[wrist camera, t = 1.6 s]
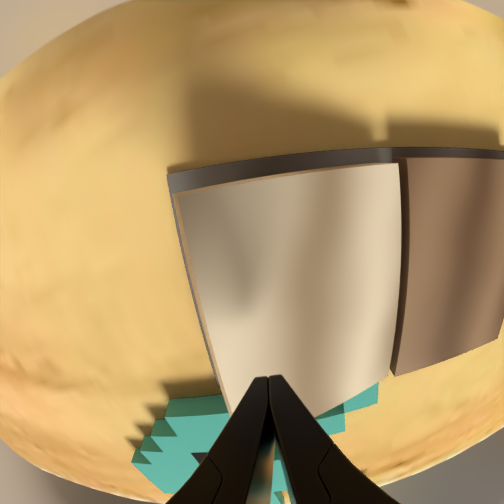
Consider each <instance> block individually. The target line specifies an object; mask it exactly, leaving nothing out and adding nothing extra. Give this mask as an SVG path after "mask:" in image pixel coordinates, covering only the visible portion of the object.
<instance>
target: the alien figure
mask: <svg viewBox="0 0 504 504" xmlns="http://www.w3.org/2000/svg"><path fill="white" fill-rule="evenodd" d="M378 384H379V382H377V383H376V384H374V385H373V386H371V387H369V388H368V389H366V390H364V391H363V392H361V393H359V394H357V395H356V396H354V397H352V398H351V399H349V400H347V401H345V402H343V403H342V404H340V405H338V406H336V407H334V408H332V409H330V410H328V411H326V412H324V413H322V414H320V415H318V416H316V417H314V418H315V419H316V420H317V421H318V423H319V424H320V425H321V427H322V428H323V429H324V430H325V432H326V433H327V434H328V435H332V434H336V433H340V432H344V431H345V417H344V413H346V412H350V411H353V410H357V409H360V408H363V407H367V406H370V405H373V404H376V403H377V402H378ZM164 418H165V419H159V420H156V421H155V424H154V427H153V430H152V433H151V436H145V437H144V440H143V442H142V445H141V448H140V449H138V448H136V450H135V452H134V455H133V458H132V461H131V463H132V464H133V465H134V466H135V467H136V468H137V469H138V470H139V471H140V472H141V473H142V474H143V475H145V476H146V477H147V478H148V479H149V480H150V481H151V482H152V483H153V484H155V485H156V486H157V487H158V488H159V489H160V490H161V491H163V492H164V493H169V494H175V493H176V492H177V491H178V490H179V489H180V488H181V487H182V486H183V485H184V484H185V482H186V481H187V480H188V479H189V478H190V477H191V475H192V474H193V473H194V471H195V470H196V469H197V467H198V466H199V465H200V463H201V462H202V460H203V459H204V457H205V456H207V453H208V451H209V450H210V448H211V447H212V445H213V444H214V442H215V441H216V439H217V437H218V436H219V434H220V433H221V431H222V430H223V428H224V427H225V425H226V423H227V422H228V420H229V419H230V415H229V412H228V409H227V406H226V403H225V400H224V397H223V394H222V395H213V396H204V397H193V398H181V399H170V400H169V404H168V407H167V410H166V413H165V417H164ZM285 490H287V486H286V482H285V478H284V474H283V469H282V465H281V461H280V457H279V453H278V449H277V444H276V443H275V449H274V463H273V477H272V490H271V502H270V504H284V497H283V495H282V494H281V492H280V491H285Z"/></svg>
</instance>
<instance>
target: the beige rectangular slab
mask: <svg viewBox="0 0 504 504" xmlns="http://www.w3.org/2000/svg"><path fill="white" fill-rule="evenodd" d="M173 200H174V205H175V210H176V215H177V220H178V225H179V230H180V234H181V239H182V244H183V248H184V253H185V257H186V262H187V266H188V270H189V274H190V279H191V283H192V287H193V291H194V295H195V299H196V303H197V307H198V311H199V315H200V318H201V322H202V326H203V329H204V333H205V337H206V340H207V344H208V347H209V351H210V354H211V358H212V361H213V365H214V368H215V371H216V375H217V378H218V381H219V384H220V388H221V391H222V394H223V397H224V400H225V403H226V406H227V409H228V412H229V415H230V417H231V415H232V414H233V412H234V411H235V409H236V407H237V406H238V404H239V402H240V401H241V399H242V397H243V396H244V394H245V392H246V391H247V389H248V387H249V386H250V384H251V382H252V381H253V379H254V378H255V377H260V376H267V377H269V376H270V375H277V374H281V375H283V377H284V378H285V379H286V381H287V382H288V383H289V385H290V386H291V387H292V389H293V390H294V391H295V393H296V394H297V395H298V397H299V398H300V399H301V401H302V402H303V403H304V405H305V406H306V407H307V409H308V410H309V411H310V412H311V414H312V415H313V416H314V417H316V416H318V415H320V414H322V413H324V412H326V411H328V410H330V409H332V408H334V407H336V406H338V405H340V404H342V403H343V402H345V401H347V400H349V399H351V398H352V397H354V396H356V395H357V394H359V393H361V392H363V391H364V390H366V389H368V388H369V387H371V386H373V385H374V384H376V383H377V382H379V381H381V380H382V379H384V378H385V377H387V376H388V373H389V368H390V362H391V356H392V350H393V343H394V335H395V328H396V319H397V309H398V298H399V285H400V267H401V197H400V179H399V166H398V163H367V164H356V165H346V166H337V167H328V168H320V169H312V170H304V171H297V172H290V173H283V174H277V175H270V176H264V177H258V178H252V179H246V180H240V181H235V182H229V183H224V184H218V185H213V186H208V187H203V188H198V189H193V190H189V191H184V192H179V193H175V194H173Z"/></svg>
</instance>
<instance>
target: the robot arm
mask: <svg viewBox="0 0 504 504" xmlns="http://www.w3.org/2000/svg"><path fill="white" fill-rule="evenodd" d="M275 439H276V444H277V449H278V453H279V457H280V461H281V465H282V469H283V474H284V478H285V482H286V486H287V490H288V494H289V498H290V502H291V504H401V503H399V502H397V501H396V500H395V499H393V498H392V497H391V496H389V495H388V494H387V493H386V492H384V491H383V490H382V489H381V488H379V487H378V486H377V485H376V484H375V483H373V482H372V481H371V480H370V479H369V478H367V477H366V476H365V475H364V474H363V473H362V472H361V471H360V470H359V469H358V468H356V467H355V466H354V465H353V464H352V463H351V462H350V460H349V459H348V458H347V457H346V456H345V455H344V454H343V453H342V451H341V450H340V449H339V448H338V447H337V445H336V444H334V442H333V441H332V439H331V438H330V437H329V435H328V434H327V433H326V432H325V430H324V429H323V428H322V427H321V425H320V424H319V423H318V421H317V420H316V419H315V418H314V416H313V415H312V414H311V412H310V411H309V410H308V409H307V407H306V406H305V405H304V403H303V402H302V401H301V399H300V398H299V397H298V395H297V394H296V393H295V391H294V390H293V389H292V387H291V386H290V385H289V383H288V382H287V381H286V379H285V378H284V377H283V375H281V374H277V375H270V376H269V377H267V376H260V377H255V378H254V379H253V381H252V382H251V384H250V386H249V387H248V389H247V391H246V392H245V394H244V396H243V397H242V399H241V401H240V402H239V404H238V406H237V407H236V409H235V411H234V412H233V414H232V415H231V417H230V419H229V420H228V422H227V423H226V425H225V427H224V428H223V430H222V431H221V433H220V434H219V436H218V437H217V439H216V441H215V442H214V444H213V445H212V447H211V448H210V450H209V451H208V453H207V456H205V457H204V459H203V460H202V462H201V463H200V465H199V466H198V467H197V469H196V470H195V471H194V473H193V474H192V475H191V477H190V478H189V479H188V480H187V481H186V482H185V484H184V485H183V486H182V487H181V488H180V489H179V490H178V491H177V492H176V493H175V494H174V495H173V496H172V497H171V498H170V499H169V500H168V501H167V502H166V503H165V504H270V502H271V490H272V477H273V463H274V449H275Z"/></svg>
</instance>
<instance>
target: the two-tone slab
mask: <svg viewBox="0 0 504 504" xmlns="http://www.w3.org/2000/svg"><path fill="white" fill-rule="evenodd" d="M367 163H398V166H399V179H400V197H401V267H400V285H399V298H398V309H397V319H396V328H395V335H394V343H393V350H392V356H391V362H390V370H391V371H392V373H393V375H394V377H396V376H399V375H402V374H406V373H409V372H412V371H416V370H419V369H422V368H425V367H428V366H431V365H434V364H437V363H439V362H442V361H445V360H448V359H450V358H453V357H455V356H458V355H461V354H463V353H466V352H468V351H470V350H473V349H475V348H477V347H480V346H482V345H484V344H487V343H489V342H491V341H493V340H495V339H497V338H498V335H499V332H500V329H501V325H502V322H503V318H504V151H496V150H484V149H468V148H444V147H388V148H362V149H345V150H331V151H319V152H308V153H298V154H289V155H281V156H272V157H265V158H257V159H250V160H244V161H237V162H231V163H225V164H219V165H213V166H207V167H202V168H197V169H191V170H186V171H181V172H176V173H172V174H167V181H168V186H169V192H170V197H171V202H172V207H173V212H174V217H175V222H176V227H177V232H178V237H179V241H180V246H181V250H182V255H183V259H184V263H185V268H186V272H187V276H188V280H189V284H190V288H191V292H192V296H193V300H194V304H195V308H196V312H197V315H198V319H199V323H200V327H201V330H202V334H203V337H204V341H205V344H206V348H207V351H208V355H209V358H210V361H211V365H212V368H213V371H214V375H215V378H216V381H217V384H218V387H219V388H220V384H219V381H218V378H217V375H216V371H215V368H214V365H213V361H212V358H211V354H210V351H209V347H208V344H207V340H206V337H205V333H204V329H203V326H202V322H201V318H200V315H199V311H198V307H197V303H196V299H195V295H194V291H193V287H192V283H191V279H190V274H189V270H188V266H187V262H186V257H185V253H184V248H183V244H182V239H181V234H180V230H179V225H178V220H177V215H176V210H175V205H174V200H173V194H175V193H179V192H184V191H189V190H193V189H198V188H203V187H208V186H213V185H218V184H224V183H229V182H235V181H240V180H246V179H252V178H258V177H264V176H270V175H277V174H283V173H290V172H297V171H304V170H312V169H320V168H328V167H337V166H346V165H356V164H367Z"/></svg>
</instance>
